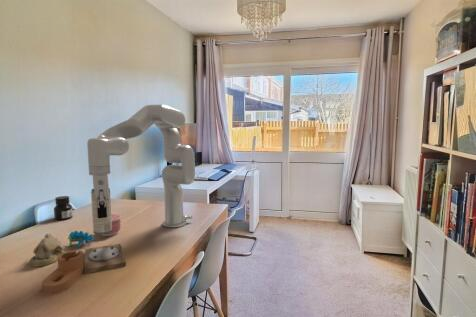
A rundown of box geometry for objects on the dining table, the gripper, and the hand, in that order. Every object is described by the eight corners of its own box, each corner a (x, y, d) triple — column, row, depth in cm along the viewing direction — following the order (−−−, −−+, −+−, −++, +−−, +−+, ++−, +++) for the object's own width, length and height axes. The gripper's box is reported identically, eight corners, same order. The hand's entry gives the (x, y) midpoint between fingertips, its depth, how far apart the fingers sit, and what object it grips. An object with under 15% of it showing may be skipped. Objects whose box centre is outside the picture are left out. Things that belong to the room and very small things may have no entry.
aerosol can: (114, 228, 128) (112, 179, 125) (107, 234, 121) (105, 183, 119) (98, 228, 128) (95, 179, 126) (90, 234, 121) (87, 183, 119)
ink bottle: (66, 220, 173) (65, 199, 172) (50, 220, 173) (49, 199, 172) (76, 215, 183) (74, 195, 181) (60, 215, 183) (59, 195, 182)
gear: (98, 238, 144) (86, 228, 136) (94, 250, 140) (81, 241, 132) (77, 240, 145) (63, 230, 138) (72, 252, 142) (58, 243, 134)
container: (113, 237, 148) (112, 221, 147) (93, 236, 150) (92, 220, 150) (125, 230, 159) (124, 214, 158) (106, 228, 161) (106, 213, 160)
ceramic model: (42, 252, 133) (40, 229, 132) (70, 250, 134) (69, 228, 133) (23, 267, 119) (21, 242, 118) (55, 266, 120) (53, 240, 119)
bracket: (66, 268, 119) (65, 250, 118) (88, 267, 119) (87, 250, 118) (36, 294, 101) (35, 273, 100) (63, 294, 101) (61, 273, 100)
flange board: (120, 246, 138) (120, 240, 138) (125, 265, 120) (125, 258, 120) (85, 252, 132) (84, 245, 132) (84, 273, 114) (84, 265, 114)
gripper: (111, 172, 115) (114, 220, 118) (108, 166, 131) (110, 208, 133) (89, 174, 112) (91, 222, 114) (88, 167, 128) (91, 210, 130)
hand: (102, 214), depth 124 cm, fingers closed on aerosol can, 6 cm apart
